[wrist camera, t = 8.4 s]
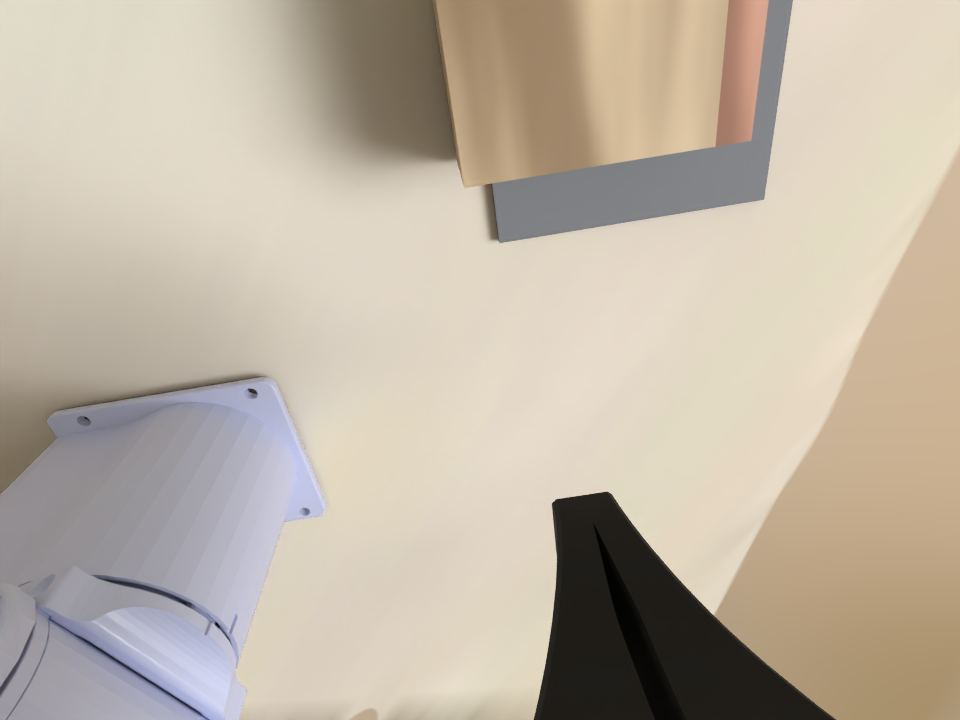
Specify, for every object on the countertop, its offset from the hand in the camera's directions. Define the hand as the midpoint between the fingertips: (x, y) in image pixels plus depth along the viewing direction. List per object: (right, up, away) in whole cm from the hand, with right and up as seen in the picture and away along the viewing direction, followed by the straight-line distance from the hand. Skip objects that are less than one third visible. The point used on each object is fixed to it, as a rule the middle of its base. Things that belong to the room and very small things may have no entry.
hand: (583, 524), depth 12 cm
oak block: (-3, +12, +2) cm, 13 cm away
